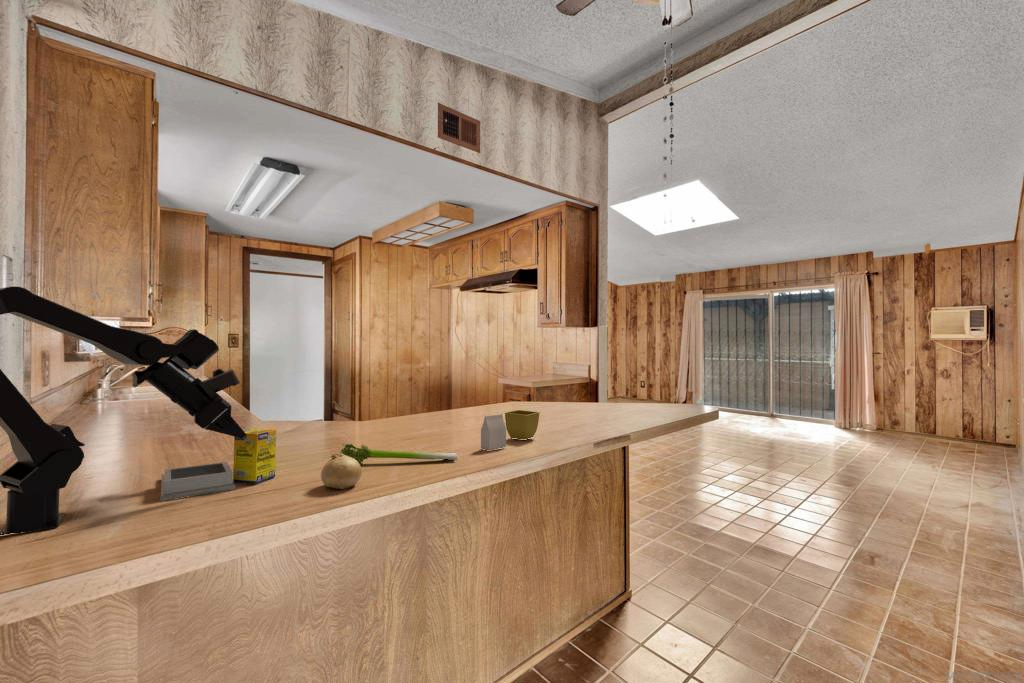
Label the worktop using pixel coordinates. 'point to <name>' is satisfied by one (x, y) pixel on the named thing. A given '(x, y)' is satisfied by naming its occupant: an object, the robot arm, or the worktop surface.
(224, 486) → the gray rectangular tray
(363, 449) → the green celery stalk
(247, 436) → the supplement box
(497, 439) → the grey gable carton
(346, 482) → the onion
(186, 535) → the worktop surface
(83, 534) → the worktop surface
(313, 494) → the worktop surface
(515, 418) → the flower pot
